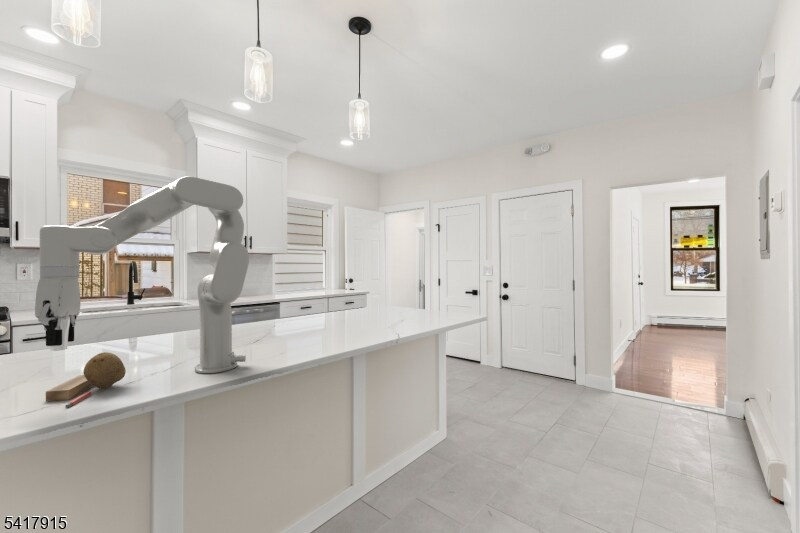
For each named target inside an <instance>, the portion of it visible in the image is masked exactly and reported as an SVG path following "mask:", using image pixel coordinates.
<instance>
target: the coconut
mask: <svg viewBox="0 0 800 533" xmlns="http://www.w3.org/2000/svg"><path fill="white" fill-rule="evenodd" d="M83 375H84V376H85V378H86V379H87V380H88V381H89V382H90V383H91V384H93V385H94V387H95V388H97V389H101V390H102V389H109V388H110V387H112V386H113V385H114V384H116V383H117V382H119V381H122V379H123V378H124V377H125V376H126V367H125V365H124V363H123V360H121V358H120V357H119V356H118V355H117V354H115V353H112V352H107V351H105V352H99V353H98V354H96V355H94V356H92V357H91V358H90V359H89V360H87V362H86V364H85V366H84V367H83Z"/></svg>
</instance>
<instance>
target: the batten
mask: <svg viewBox="0 0 800 533" xmlns="http://www.w3.org/2000/svg"><path fill="white" fill-rule="evenodd" d="M93 386H94V385H93V384H91V383H90V382H89V381H88V380H87V379H86V378H85V376H84V374H79V375H77V376H75V377H74V378H71V379H69V380H67V381H65V382H62V383H61V384H58V385H57V386H54V387H53V388H50V389H47V390H46V391H45V402H55V401H66V400H67V401H69V400H71V399H73V398H74V397H76V396H78V395H80V394H82V393H84V392H85V391H87V390H89V389H90V388H93ZM94 387H95V386H94Z"/></svg>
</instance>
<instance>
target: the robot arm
mask: <svg viewBox="0 0 800 533" xmlns="http://www.w3.org/2000/svg"><path fill="white" fill-rule="evenodd" d="M243 196H244V195H243V194H242V192H241V191H240V190H239V189H238V188H237V187H234V186H232V185H230V184H226V183H221V182H216V181H213V180H209V179H204V178H199V177H195V176H182V177H180V178H177V179H176V180H174V181H173V182H171V183H169V184H168V185H167V184H166V185H165V186H163V187H160V188H159V189H158V190H155V191H154V192H151V193H149V194H148V195H146V196H144V197H142V198H140V199H138V200H136V201H135V202H133V203H131V204H130V205H128V206H127V207H126V208H124V209H123V210H121V211H119V212H118V213H116V214H114V215H113V216H112V217H109V218H107V219H106V220H103V221H102V222H100V223H98V224H96V225H94V226H80V227H79V226H71V225H60V224H59V225H57V224H54V225H53V224H50V225H49V224H48V225H43V226H41V227H40V229H39V279H38V282H37V286H36V287H37V288H36V293H35V300H34V301H35V304H34V316H35V317H36V318H37V320H38V322H39V323H40V324H42V326H43V330H44V331H45V346H46V347H50V346H60V345H62V329H61V330H60V326H61V318H62V317H65V316H66V313H67V312H69V313H68V316H69V317H70V325H69V332H68V343H71V342H74V341H75V326H76V320H77V317H78V316H79V315H80V311H81V292H80V290H81V289H80V283H79V279H80V253H85V254H89V255H94V256H95V255H97V256H98V255H105V254H108V253H110V252H112V251H113V250H114V249H115V247H116V246H119V245H120V244H122V243H124V242H126V241H127V240H129V239H131V238H133V237H136V236H137V235H138V234H141V233H144V232H147V231H149V230H151V229H154V228H156V227H157V226H159V225H162V224H163V223H164V222H167V221H168V220H170V219H172V218H173V217H175V216H176V215H178V214H180V213H182V212H184V211H185V210H187V209H189V208H191V207H192V206H199V207H203V208H207V209H208V211H209V212H210V213H211V214H212V215H213V216H214V218H215V221H216V230H215V235H214V236H213V237H214V239H213V242H212V245H211V249H210V252H209V257H208V259H209V260H208V261H209V263H210V265H211V266H212V267H213V268H214V273H210V274H208V275H205V276H204V277H203V278H202V279H200V281H199V283H198V286H197V297H198V305H199V306H198V307H199V364H196V365H195V366H194V371H195V372H196V373H198V374H214V373H223V372H227V371H230V370H233V369H235V368H236V367H237V366H238V362H239V363H244V362H246V360H247V358H246V355H243V354H240V355H236V354H235V351H233V339H232V338H233V334H232V333H233V332H232V331H233V328H232V326H233V322H232V321H233V320H232V319H233V317H232V316H233V315H232V314H233V313H232V305H231V304H232V303H234V302H235V301H236V300H238V298H239V297H240V295H241V293H242V291H243V288H244V284H245V280H246V277H247V273H248V268H249V263H250V254H249V252H248V249H247V247H246V246H245V245H243V244H242V242H243V237H244V232H245V223H244V219H243V216H242V214H241V213H240V211H239V210H240V209H241V208H242V206H243V205H244V197H243ZM51 315H53V316H55V317H51ZM53 320H56V322H55V323H54V321H53Z"/></svg>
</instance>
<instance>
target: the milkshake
mask: <svg viewBox="0 0 800 533" xmlns="http://www.w3.org/2000/svg"><path fill="white" fill-rule="evenodd" d="M68 313H69V312H67V313H66V316H65V317H62V318H61V326H60V330H61V329H62V345H60V346H49V350H50V351H51V352H57V351H64V350H67V349H68V344H69V342H68V332H69V325H70V317H69V316H68ZM51 317H55V316H53V315H51ZM53 321H54V323H55V322H56V320H53Z"/></svg>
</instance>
